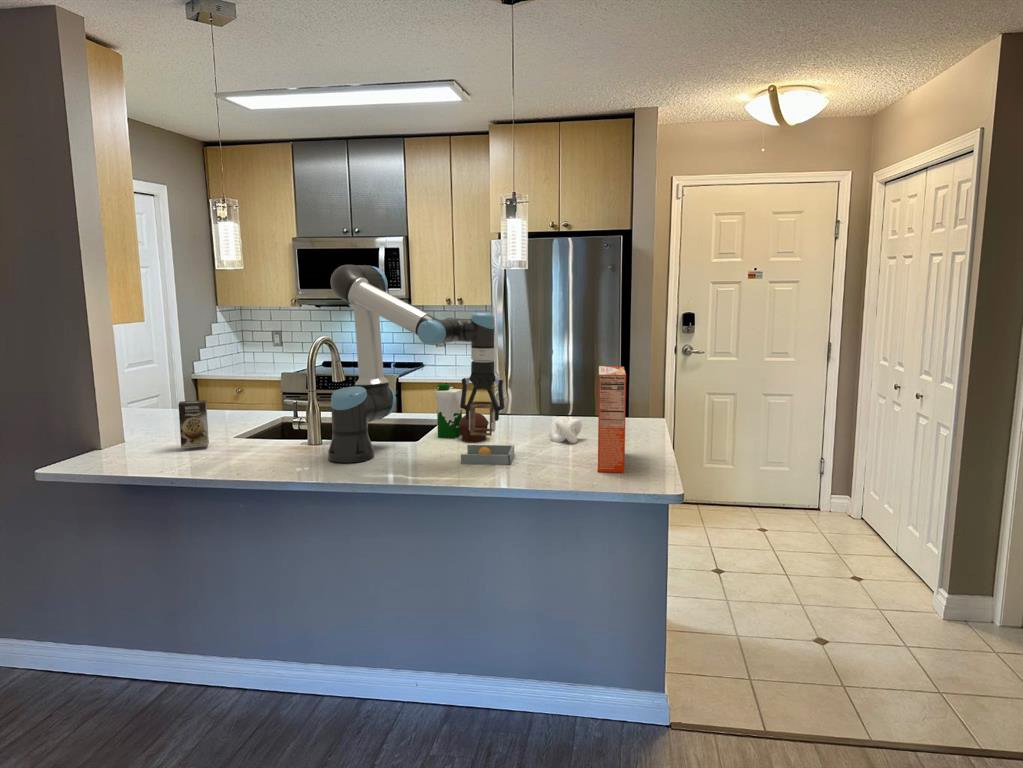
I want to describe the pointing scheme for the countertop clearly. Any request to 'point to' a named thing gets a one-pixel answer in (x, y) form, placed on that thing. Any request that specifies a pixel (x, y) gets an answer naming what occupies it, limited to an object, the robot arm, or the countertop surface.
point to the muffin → (479, 423)
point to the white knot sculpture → (565, 429)
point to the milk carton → (448, 411)
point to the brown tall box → (193, 423)
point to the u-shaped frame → (477, 458)
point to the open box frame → (472, 417)
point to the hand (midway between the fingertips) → (482, 429)
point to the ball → (484, 451)
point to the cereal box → (611, 419)
